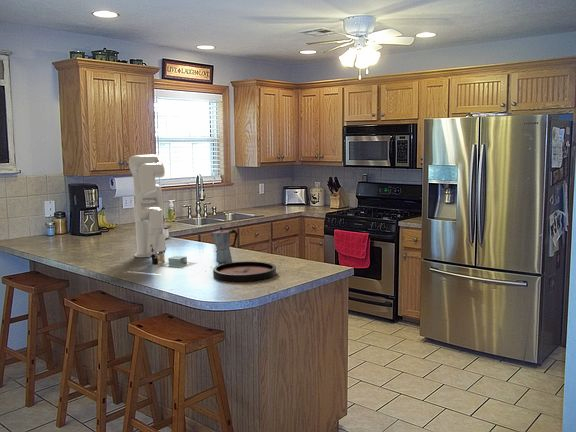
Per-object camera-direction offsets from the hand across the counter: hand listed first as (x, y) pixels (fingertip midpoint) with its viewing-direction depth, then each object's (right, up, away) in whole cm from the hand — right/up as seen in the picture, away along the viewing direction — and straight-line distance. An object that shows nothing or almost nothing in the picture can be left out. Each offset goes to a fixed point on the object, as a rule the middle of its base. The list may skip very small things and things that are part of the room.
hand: (158, 263), depth 308 cm
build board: (+12, -1, -5) cm, 13 cm away
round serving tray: (+50, -4, -28) cm, 57 cm away
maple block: (0, -1, 0) cm, 1 cm away
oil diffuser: (-18, +10, +91) cm, 94 cm away
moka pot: (+36, 0, +3) cm, 36 cm away
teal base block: (+12, 0, -5) cm, 13 cm away
